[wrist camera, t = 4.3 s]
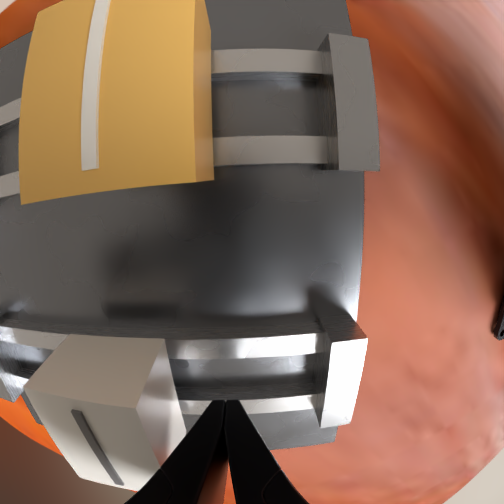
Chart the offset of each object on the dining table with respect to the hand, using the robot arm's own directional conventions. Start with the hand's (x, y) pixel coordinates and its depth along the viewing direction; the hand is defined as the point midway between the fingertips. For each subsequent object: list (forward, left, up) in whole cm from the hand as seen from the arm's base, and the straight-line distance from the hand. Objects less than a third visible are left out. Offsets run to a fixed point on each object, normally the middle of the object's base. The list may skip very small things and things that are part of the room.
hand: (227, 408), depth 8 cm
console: (+4, -5, -4) cm, 7 cm away
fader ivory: (+4, 0, -2) cm, 4 cm away
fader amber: (+2, -9, -2) cm, 9 cm away
